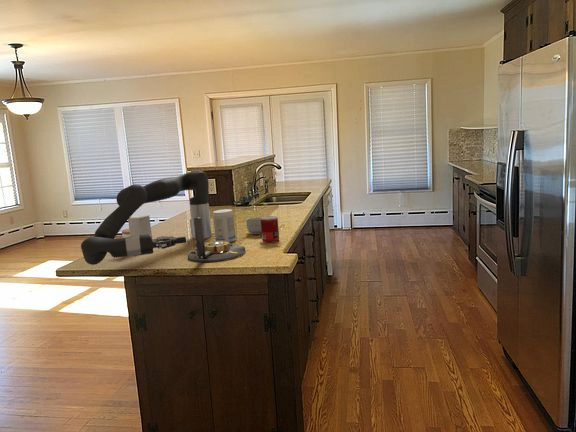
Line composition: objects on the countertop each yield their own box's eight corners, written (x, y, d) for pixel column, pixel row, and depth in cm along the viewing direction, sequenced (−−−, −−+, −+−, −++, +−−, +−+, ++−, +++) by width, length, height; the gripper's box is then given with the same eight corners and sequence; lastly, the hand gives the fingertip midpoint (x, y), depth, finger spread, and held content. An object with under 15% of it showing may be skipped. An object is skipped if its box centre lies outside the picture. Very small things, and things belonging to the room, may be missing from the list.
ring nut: (211, 246, 201) (207, 210, 198) (233, 246, 197) (230, 209, 195) (187, 258, 182) (183, 218, 179) (212, 259, 179) (208, 218, 176)
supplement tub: (233, 238, 226) (230, 208, 224) (238, 241, 217) (235, 210, 215) (213, 240, 223) (210, 210, 220) (217, 244, 214) (214, 213, 212)
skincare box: (142, 251, 210) (138, 217, 207) (130, 251, 212) (126, 217, 209) (153, 247, 217) (150, 214, 215) (142, 246, 220) (138, 214, 217)
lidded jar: (124, 248, 218) (122, 229, 217) (122, 244, 228) (120, 226, 226) (147, 245, 222) (145, 226, 221) (145, 241, 232) (143, 223, 231)
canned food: (277, 242, 209) (275, 218, 208) (260, 242, 211) (258, 219, 209) (280, 238, 217) (279, 215, 215) (264, 239, 218) (262, 216, 217)
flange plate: (175, 259, 190) (174, 248, 189) (211, 246, 210) (210, 235, 210) (223, 263, 178) (222, 251, 177) (256, 249, 199) (255, 237, 198)
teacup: (243, 235, 230) (242, 219, 229) (253, 231, 240) (251, 216, 239) (268, 236, 225) (267, 219, 224) (277, 231, 235) (276, 216, 234)
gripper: (137, 238, 167) (186, 232, 172) (138, 232, 180) (183, 227, 185) (140, 258, 169) (188, 252, 173) (140, 251, 181) (185, 245, 186)
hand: (185, 239), depth 179 cm, fingers closed
